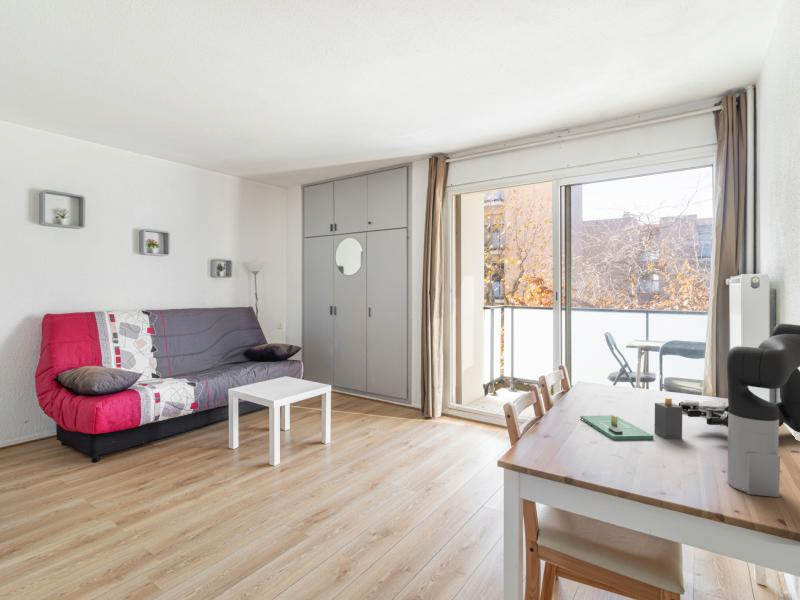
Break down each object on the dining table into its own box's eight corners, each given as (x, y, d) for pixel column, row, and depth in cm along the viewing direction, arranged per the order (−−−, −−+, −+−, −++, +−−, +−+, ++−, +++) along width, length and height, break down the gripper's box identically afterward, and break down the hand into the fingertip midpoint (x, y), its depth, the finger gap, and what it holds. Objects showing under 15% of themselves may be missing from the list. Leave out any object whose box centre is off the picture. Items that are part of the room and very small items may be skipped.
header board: (653, 439, 133) (653, 426, 133) (613, 440, 133) (613, 426, 132) (615, 418, 155) (615, 407, 155) (580, 419, 155) (580, 407, 154)
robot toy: (675, 414, 164) (723, 420, 153) (674, 403, 164) (722, 407, 153) (682, 408, 172) (728, 413, 162) (681, 397, 172) (727, 401, 162)
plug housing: (682, 438, 134) (682, 400, 134) (665, 438, 134) (665, 401, 134) (670, 432, 139) (670, 396, 139) (654, 433, 139) (654, 396, 139)
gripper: (728, 399, 144) (682, 400, 144) (765, 411, 130) (714, 411, 130) (727, 421, 145) (681, 422, 144) (765, 435, 130) (714, 436, 130)
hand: (697, 417), depth 137 cm, fingers open, 8 cm apart
